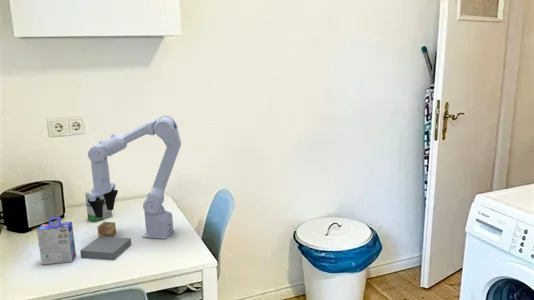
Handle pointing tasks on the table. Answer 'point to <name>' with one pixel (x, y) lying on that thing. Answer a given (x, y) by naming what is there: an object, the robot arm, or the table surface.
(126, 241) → the gray square plate
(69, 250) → the ink cartridge box
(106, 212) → the white cardboard box
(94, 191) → the robot arm
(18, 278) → the table surface
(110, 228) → the wooden block
